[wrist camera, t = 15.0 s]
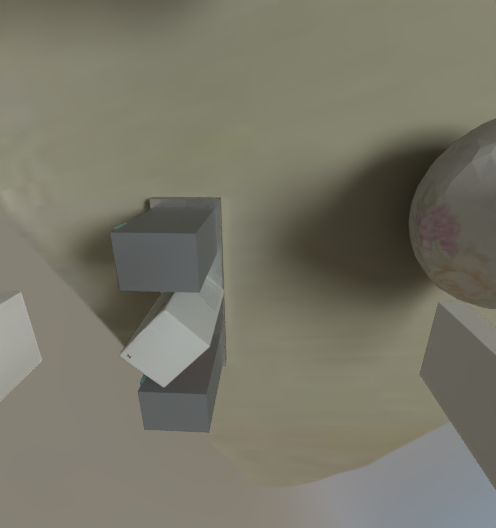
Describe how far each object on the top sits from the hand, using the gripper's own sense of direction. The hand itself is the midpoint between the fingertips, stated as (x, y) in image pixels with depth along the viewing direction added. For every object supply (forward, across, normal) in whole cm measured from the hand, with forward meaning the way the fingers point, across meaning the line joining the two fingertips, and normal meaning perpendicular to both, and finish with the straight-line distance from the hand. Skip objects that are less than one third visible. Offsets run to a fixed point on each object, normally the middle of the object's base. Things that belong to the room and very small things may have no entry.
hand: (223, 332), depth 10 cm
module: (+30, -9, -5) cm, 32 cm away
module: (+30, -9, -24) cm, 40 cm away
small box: (+30, -9, -14) cm, 35 cm away
